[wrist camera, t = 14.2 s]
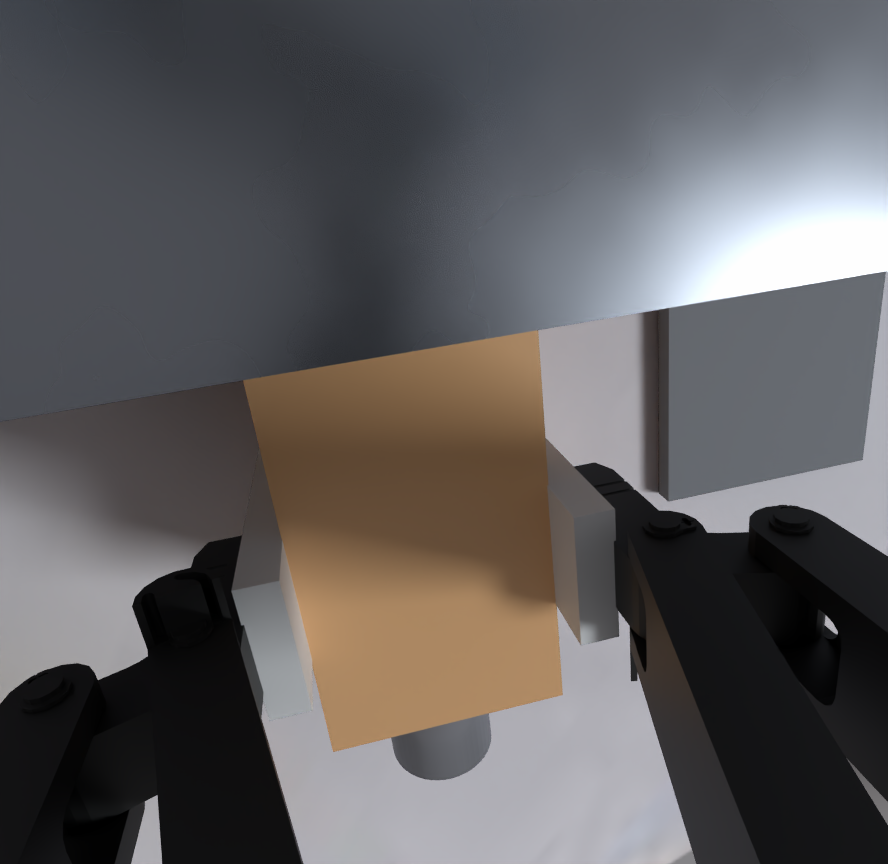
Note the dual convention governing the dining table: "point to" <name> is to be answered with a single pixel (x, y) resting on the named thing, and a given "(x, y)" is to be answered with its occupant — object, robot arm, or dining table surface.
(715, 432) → the mat
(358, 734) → the plug
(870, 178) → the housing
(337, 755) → the dining table surface
